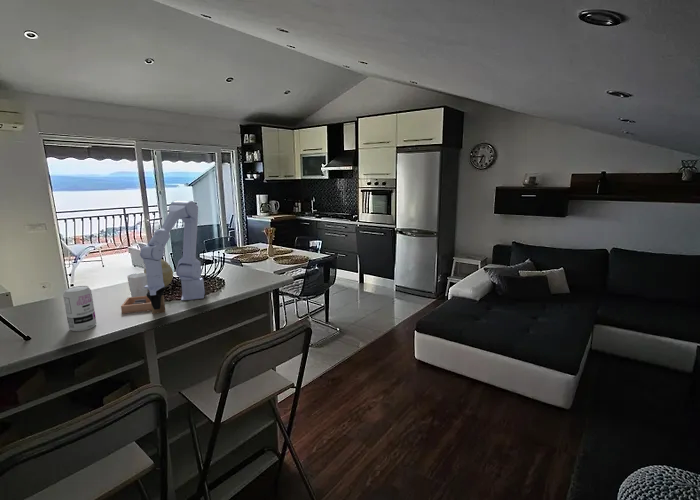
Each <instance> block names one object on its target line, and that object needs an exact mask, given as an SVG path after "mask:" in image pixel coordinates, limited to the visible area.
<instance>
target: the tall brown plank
mask: <svg viewBox="0 0 700 500" xmlns="http://www.w3.org/2000/svg"><path fill="white" fill-rule="evenodd" d="M151 306H152V303H151ZM151 312H152V315H154V314H162V313H163V314H165V313H166V304H165V295H162V296H161V306H160V309H157V310H154V308H153V306H152V311H151Z"/></svg>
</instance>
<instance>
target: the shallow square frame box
mask: <svg viewBox="0 0 700 500" xmlns="http://www.w3.org/2000/svg"><path fill="white" fill-rule="evenodd" d="M120 309H121V314H133V313H140V312H141V313H142V312H149V311H151V312H152V306H151V301H150V300H149V298H148V297H147V296H139V297H127V298H126V299H125V300H124V301H123V303H122V304H121V305H120Z"/></svg>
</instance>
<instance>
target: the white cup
mask: <svg viewBox="0 0 700 500" xmlns="http://www.w3.org/2000/svg"><path fill="white" fill-rule="evenodd" d="M126 277H127V281H128V288H129V291H130V296H131V297H139V296H147V295H146V294H147V293H149V290H148V288H145V286H146V285H148V284H147V276H146V273H144V272H136V273H135V272H134V273H132V274H129V275H127V276H126Z"/></svg>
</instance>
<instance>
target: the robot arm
mask: <svg viewBox="0 0 700 500" xmlns="http://www.w3.org/2000/svg"><path fill="white" fill-rule="evenodd" d="M198 217H199V206H198V205H197V203H195V201H193V200H189V201H188V200H186V201H185V200H173V201H172V202H171V203H170V205H169V206H168V213H167V215H166V218H165V220H164V222H163V224H162V225H161V227H160V229H156V230H155V231H154V233H153V234H152V237H151V238H150V240H149V241H148V243H147V245H144V246H143V247H142V248H141V249H140V253H139V256H140V258H141V259H142V261H143V263H144V266H145V268H146V276H147V284H148V285H146V286H145V288H148V293H147V294H146V295H147V297H148V298H149V300H150V301H151V303H152V306H153V308H154V310H157V309H160V306H161V296H162V295H164V293H165V290H166V288H167V286H164V282H163V273H162V265H161V259H162V258H164V256H165V255H164V253H165V247H166V245H167V243H168V241H169V240H170V238H171V235H170V233H171V231H172V229H173V228H174V227H175V225H176V224H177V222H178V221H179V220H181V221H182V222H183V223H184V224H183V227H184V228H183V242H182V257H181V258H180V259H179V260H178V261H177V266H176V269H175V274H176V276H177V277H178V278H179V280H180V283H181V284H180V285H181V292H182V293H181V298H180V300H181V301H190V300H191V301H192V300H199V299H204V297H205V294H206V292H205V291H206V289H205V282H204V278H203V277H201V276H202V266H201V265H202V263H201V261H200V260H199V259H198V258H197V255H196V254H197V240H198V238H197V236H198V220H199V219H198ZM145 268H144V269H145ZM164 296H165V295H164Z"/></svg>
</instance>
